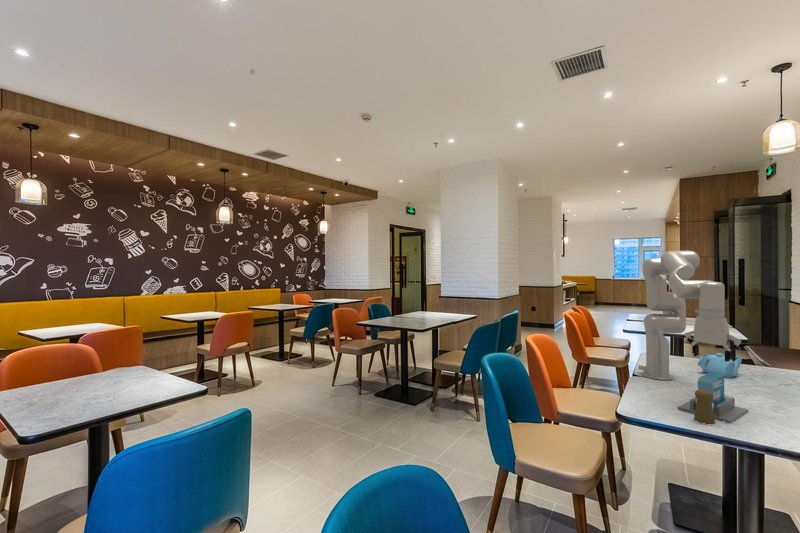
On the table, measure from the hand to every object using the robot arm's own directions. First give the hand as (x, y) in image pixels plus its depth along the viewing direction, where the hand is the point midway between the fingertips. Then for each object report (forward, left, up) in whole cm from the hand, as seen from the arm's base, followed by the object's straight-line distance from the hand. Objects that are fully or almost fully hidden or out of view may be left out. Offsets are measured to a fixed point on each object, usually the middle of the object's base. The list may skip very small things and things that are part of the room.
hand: (711, 358), depth 145 cm
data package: (0, 0, -19) cm, 19 cm away
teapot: (-16, +63, -20) cm, 68 cm away
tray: (0, 0, -20) cm, 20 cm away
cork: (+2, -15, -20) cm, 25 cm away
